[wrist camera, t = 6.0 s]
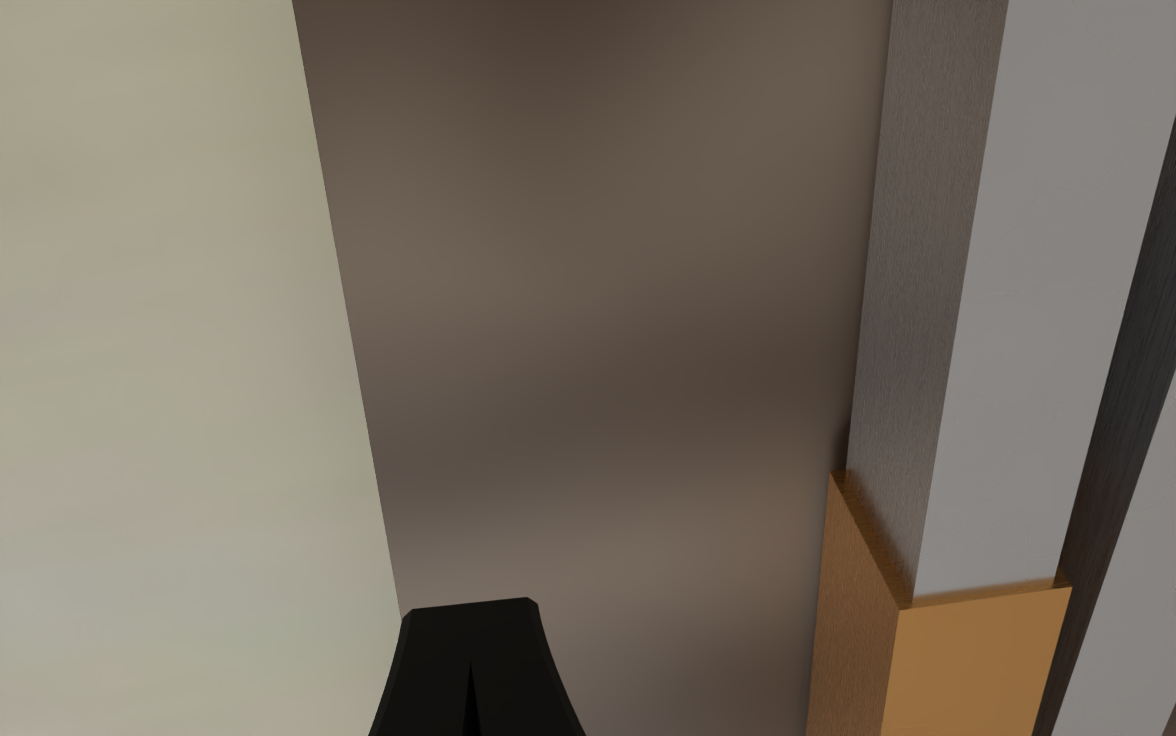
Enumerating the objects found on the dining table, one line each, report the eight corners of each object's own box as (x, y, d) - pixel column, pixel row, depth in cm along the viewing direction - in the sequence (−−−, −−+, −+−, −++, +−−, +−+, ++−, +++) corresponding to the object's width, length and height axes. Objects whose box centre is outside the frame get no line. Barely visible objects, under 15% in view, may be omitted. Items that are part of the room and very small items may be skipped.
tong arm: (978, 900, 22) (1045, 1049, 20) (788, 930, 22) (833, 1085, 19) (1502, -1042, 8) (1984, -1364, 5) (964, -1031, 7) (1221, -1370, 5)
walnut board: (1232, 826, 25) (1266, 875, 24) (465, 933, 23) (466, 989, 22) (2224, -1054, 9) (2438, -1141, 8) (118, -1131, 8) (71, -1252, 7)
